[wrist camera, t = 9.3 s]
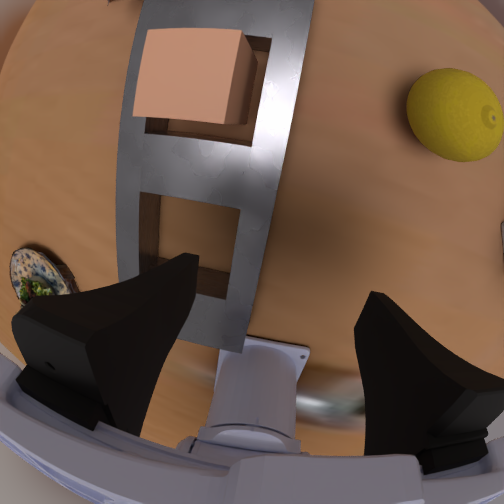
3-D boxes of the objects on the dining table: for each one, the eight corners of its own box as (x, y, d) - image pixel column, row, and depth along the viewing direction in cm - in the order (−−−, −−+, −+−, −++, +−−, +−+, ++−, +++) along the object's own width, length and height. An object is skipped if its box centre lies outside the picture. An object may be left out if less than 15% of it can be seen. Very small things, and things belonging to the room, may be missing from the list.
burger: (73, 246, 24) (23, 285, 17) (98, 338, 29) (67, 383, 22) (8, 237, 24) (-34, 265, 18) (33, 316, 30) (2, 350, 23)
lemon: (374, 109, 16) (428, 104, 9) (419, 61, 14) (484, 40, 6) (425, 167, 17) (491, 198, 10) (466, 120, 15) (538, 131, 7)
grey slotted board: (247, 325, 24) (241, 353, 21) (140, 299, 25) (123, 322, 21) (313, 0, 13) (318, -21, 10) (172, -9, 13) (152, -26, 10)
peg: (246, 124, 17) (223, 124, 11) (183, 116, 18) (132, 116, 11) (257, 62, 15) (241, 30, 9) (193, 56, 16) (147, 29, 9)
